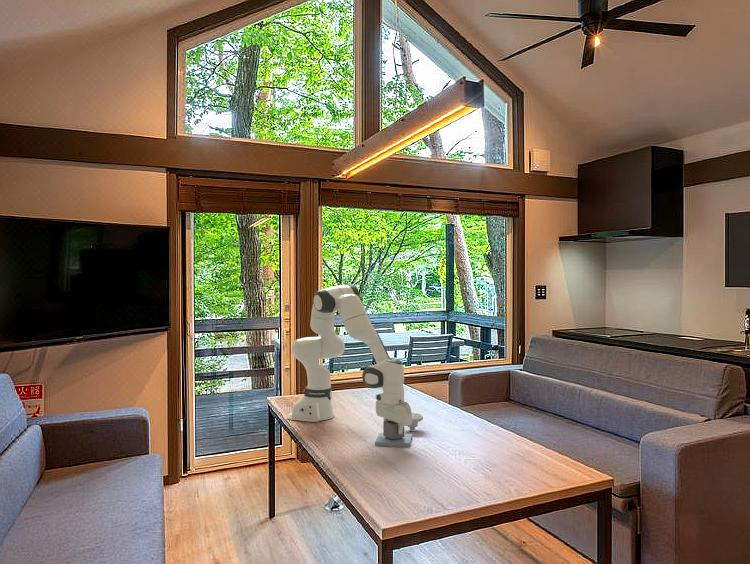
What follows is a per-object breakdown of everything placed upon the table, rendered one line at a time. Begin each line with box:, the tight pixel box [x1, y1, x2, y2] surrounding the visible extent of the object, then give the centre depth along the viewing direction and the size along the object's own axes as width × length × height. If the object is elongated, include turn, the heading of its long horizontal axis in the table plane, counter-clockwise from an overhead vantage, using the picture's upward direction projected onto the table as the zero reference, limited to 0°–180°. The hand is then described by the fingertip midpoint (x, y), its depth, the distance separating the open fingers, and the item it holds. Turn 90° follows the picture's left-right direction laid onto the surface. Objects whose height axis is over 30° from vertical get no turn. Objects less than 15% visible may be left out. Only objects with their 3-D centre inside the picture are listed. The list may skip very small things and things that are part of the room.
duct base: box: [374, 432, 413, 448], centre depth 216 cm, size 14×12×6 cm
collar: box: [382, 420, 405, 440], centre depth 216 cm, size 6×6×6 cm
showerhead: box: [407, 412, 424, 432], centre depth 231 cm, size 9×7×10 cm
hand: (393, 431), depth 216 cm, fingers closed on collar, 6 cm apart
